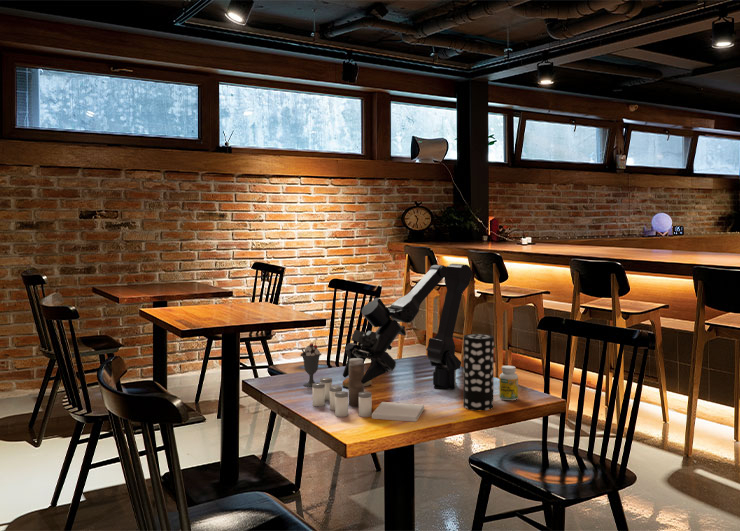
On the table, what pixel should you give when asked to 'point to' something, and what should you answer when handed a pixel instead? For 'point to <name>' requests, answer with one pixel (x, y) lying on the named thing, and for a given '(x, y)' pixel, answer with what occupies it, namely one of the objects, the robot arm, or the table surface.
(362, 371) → the pepper mill
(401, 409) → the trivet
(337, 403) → the shakers
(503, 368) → the supplement bottle
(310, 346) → the sundae
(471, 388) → the spotted tube
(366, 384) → the pastry
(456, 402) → the table surface
